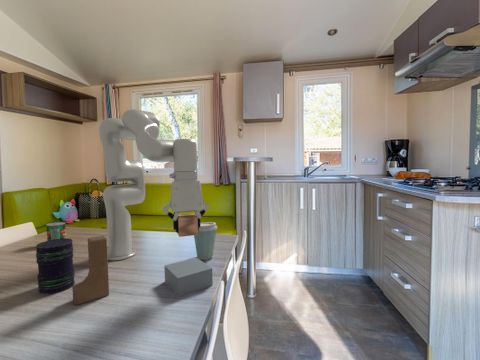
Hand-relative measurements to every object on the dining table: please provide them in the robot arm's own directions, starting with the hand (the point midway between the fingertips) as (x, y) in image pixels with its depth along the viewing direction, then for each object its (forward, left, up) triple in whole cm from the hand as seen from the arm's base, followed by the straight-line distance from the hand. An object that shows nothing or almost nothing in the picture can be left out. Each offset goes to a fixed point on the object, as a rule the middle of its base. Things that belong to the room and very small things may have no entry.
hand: (187, 230), depth 83 cm
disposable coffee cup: (+11, +21, -18) cm, 30 cm away
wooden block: (-29, +2, -18) cm, 35 cm away
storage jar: (-41, +14, -18) cm, 47 cm away
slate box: (0, 0, -19) cm, 19 cm away
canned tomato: (-56, +68, -18) cm, 90 cm away
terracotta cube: (0, 0, -1) cm, 1 cm away
